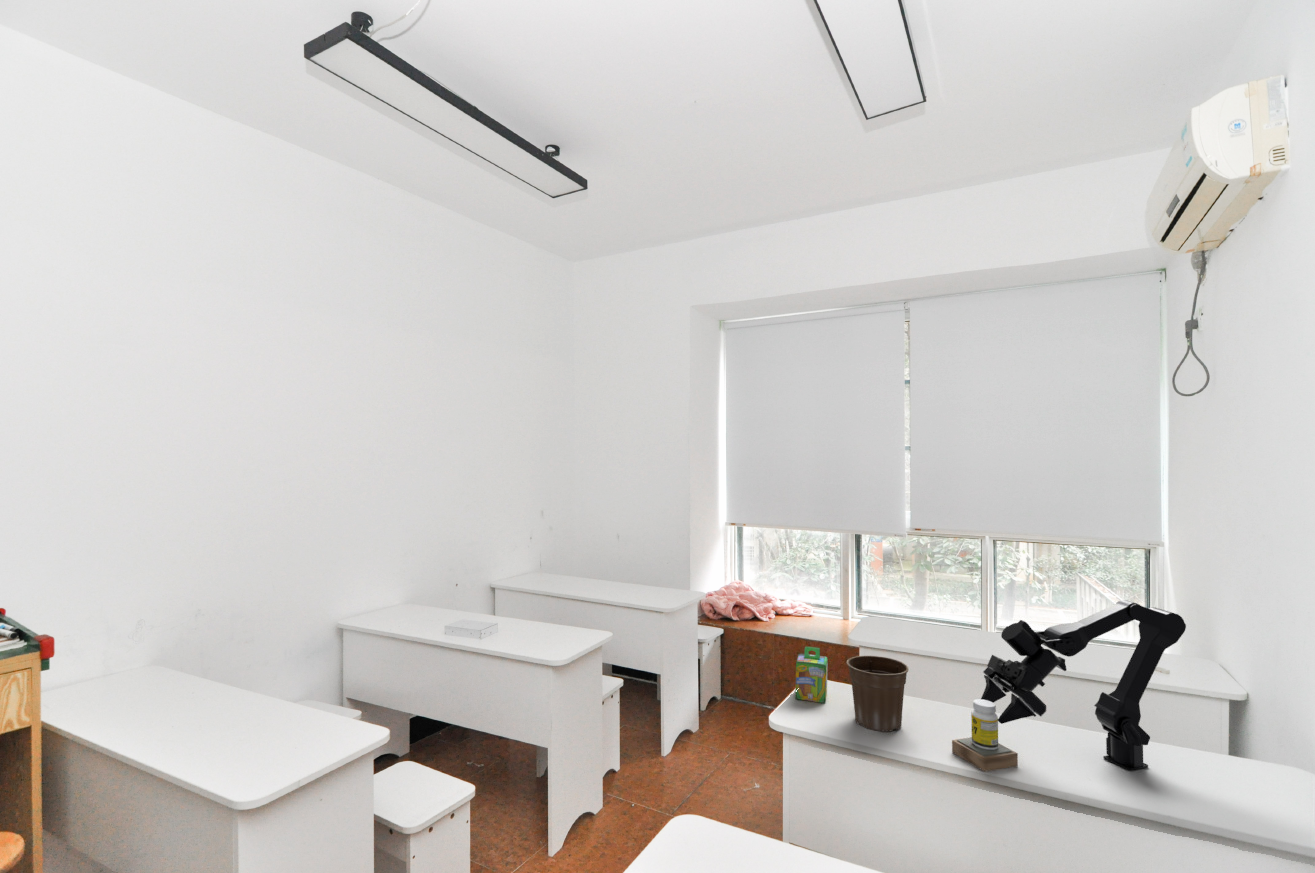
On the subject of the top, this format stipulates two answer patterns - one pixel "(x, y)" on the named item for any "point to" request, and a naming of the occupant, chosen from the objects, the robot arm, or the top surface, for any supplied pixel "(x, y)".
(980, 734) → the supplement bottle
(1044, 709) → the robot arm
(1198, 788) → the top surface
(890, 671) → the plant pot
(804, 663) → the chalk box
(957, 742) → the plinth
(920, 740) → the top surface
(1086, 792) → the top surface
